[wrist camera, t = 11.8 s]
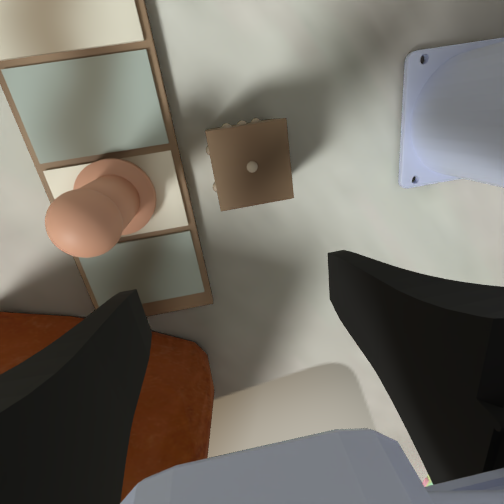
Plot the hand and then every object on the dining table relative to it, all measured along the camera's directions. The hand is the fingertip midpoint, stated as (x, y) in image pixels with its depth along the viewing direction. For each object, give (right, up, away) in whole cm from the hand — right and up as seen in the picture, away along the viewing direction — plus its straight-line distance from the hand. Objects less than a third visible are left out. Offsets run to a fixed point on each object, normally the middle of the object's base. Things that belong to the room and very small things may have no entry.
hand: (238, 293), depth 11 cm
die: (0, +7, +8) cm, 11 cm away
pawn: (-7, +5, +7) cm, 11 cm away
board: (-8, +7, +7) cm, 13 cm away
